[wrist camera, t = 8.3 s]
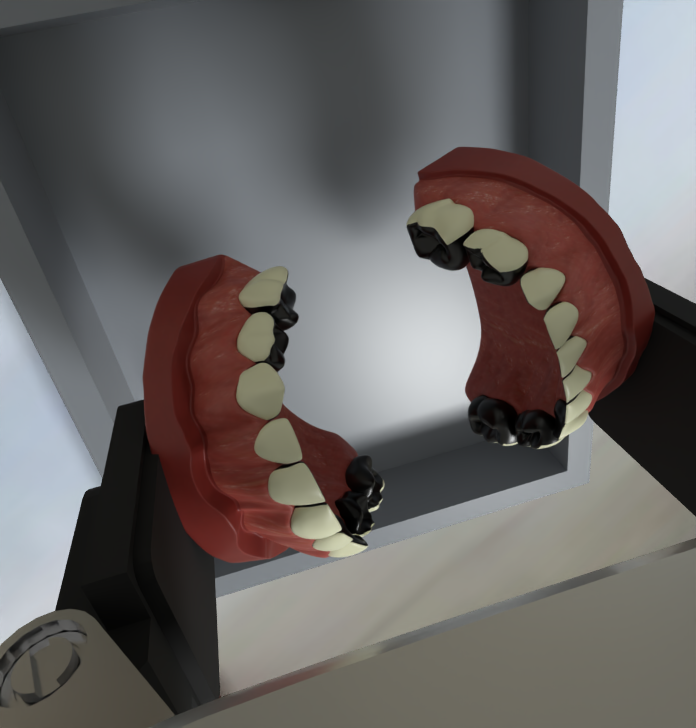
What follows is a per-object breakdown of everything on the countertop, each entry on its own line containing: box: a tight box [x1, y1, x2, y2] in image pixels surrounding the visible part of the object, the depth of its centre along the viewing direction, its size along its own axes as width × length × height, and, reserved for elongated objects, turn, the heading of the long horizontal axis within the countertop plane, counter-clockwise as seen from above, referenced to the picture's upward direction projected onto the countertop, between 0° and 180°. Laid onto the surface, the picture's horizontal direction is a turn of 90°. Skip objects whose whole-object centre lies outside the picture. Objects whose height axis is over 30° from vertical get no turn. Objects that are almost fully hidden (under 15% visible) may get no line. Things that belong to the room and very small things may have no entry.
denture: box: [142, 147, 655, 563], centre depth 10 cm, size 6×4×8 cm
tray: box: [0, 0, 623, 598], centre depth 15 cm, size 16×14×3 cm
